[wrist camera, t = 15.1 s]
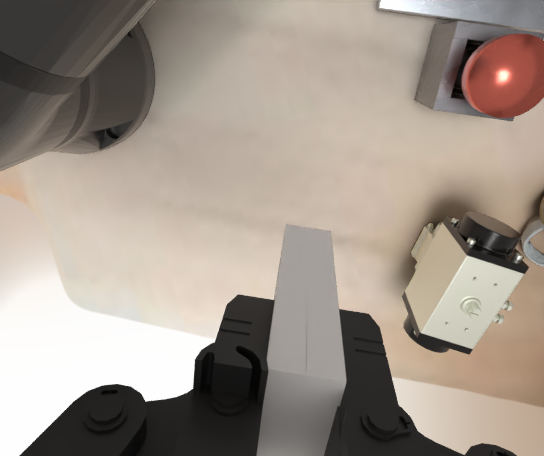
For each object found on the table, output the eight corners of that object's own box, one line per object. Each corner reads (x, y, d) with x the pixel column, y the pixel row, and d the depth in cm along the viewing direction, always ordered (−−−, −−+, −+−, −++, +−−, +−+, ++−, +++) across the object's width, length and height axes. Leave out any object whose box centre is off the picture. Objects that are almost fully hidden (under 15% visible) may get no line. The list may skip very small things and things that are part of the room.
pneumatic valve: (387, 282, 44) (412, 360, 33) (437, 184, 39) (486, 238, 28) (435, 297, 44) (475, 380, 33) (491, 201, 39) (560, 262, 28)
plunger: (424, 95, 35) (459, 112, 27) (442, 32, 33) (486, 28, 25) (482, 104, 35) (536, 123, 27) (504, 40, 33) (569, 39, 24)
